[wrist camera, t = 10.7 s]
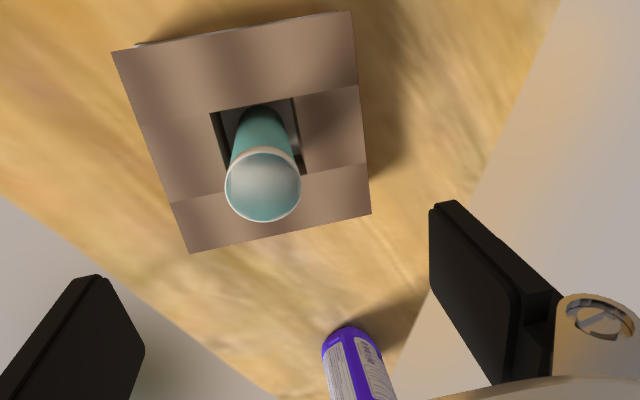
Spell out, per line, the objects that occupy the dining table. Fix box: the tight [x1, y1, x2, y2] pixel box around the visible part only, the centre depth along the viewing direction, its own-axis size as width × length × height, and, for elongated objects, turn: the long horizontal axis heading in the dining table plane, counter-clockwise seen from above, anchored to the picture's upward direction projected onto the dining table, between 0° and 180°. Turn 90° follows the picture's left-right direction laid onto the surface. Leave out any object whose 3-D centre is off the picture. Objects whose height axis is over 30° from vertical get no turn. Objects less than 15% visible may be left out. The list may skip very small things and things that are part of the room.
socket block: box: [111, 10, 372, 254], centre depth 26 cm, size 14×14×5 cm
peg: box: [225, 105, 302, 222], centre depth 23 cm, size 4×4×12 cm
